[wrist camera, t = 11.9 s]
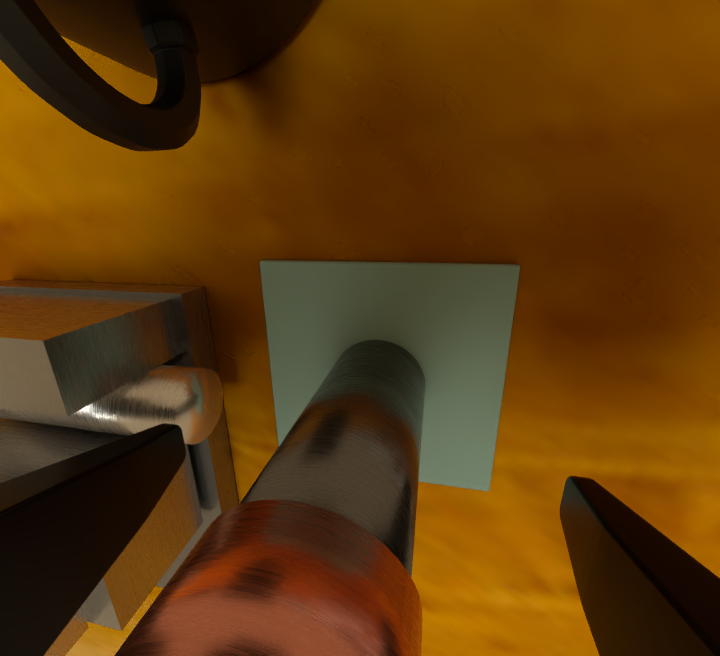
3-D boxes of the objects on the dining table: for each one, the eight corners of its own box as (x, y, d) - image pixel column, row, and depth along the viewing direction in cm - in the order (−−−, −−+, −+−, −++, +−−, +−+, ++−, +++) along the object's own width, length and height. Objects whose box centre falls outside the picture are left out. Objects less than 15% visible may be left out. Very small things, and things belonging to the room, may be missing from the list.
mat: (284, 454, 14) (280, 461, 14) (265, 259, 12) (259, 261, 11) (487, 483, 13) (489, 491, 12) (517, 264, 10) (520, 266, 10)
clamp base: (269, 584, 17) (203, 730, 12) (87, 544, 19) (-29, 654, 14) (229, 287, 12) (95, 336, 7) (-7, 278, 14) (-228, 312, 10)
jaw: (204, 527, 14) (58, 726, 9) (59, 499, 16) (-144, 653, 10) (180, 411, 13) (-22, 570, 7) (19, 392, 14) (-251, 510, 9)
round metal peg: (329, 422, 13) (123, 823, 4) (325, 330, 12) (34, 637, 3) (428, 434, 12) (406, 941, 4) (434, 337, 11) (421, 757, 2)
